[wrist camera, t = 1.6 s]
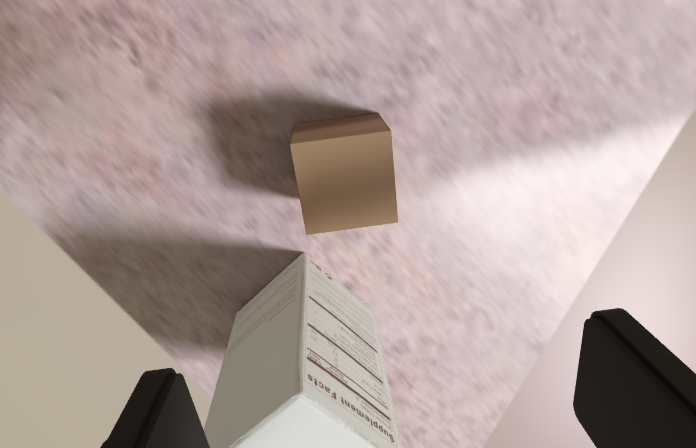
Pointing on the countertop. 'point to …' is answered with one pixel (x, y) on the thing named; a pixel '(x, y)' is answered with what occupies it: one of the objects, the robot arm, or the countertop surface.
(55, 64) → the countertop surface
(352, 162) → the walnut cube
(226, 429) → the supplement box
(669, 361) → the robot arm
